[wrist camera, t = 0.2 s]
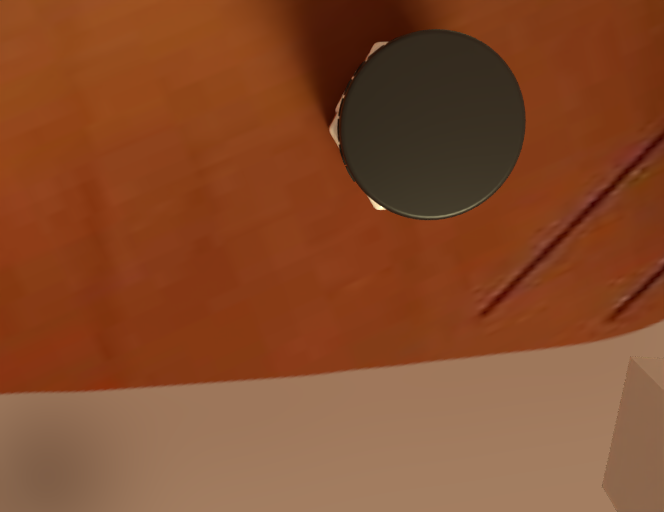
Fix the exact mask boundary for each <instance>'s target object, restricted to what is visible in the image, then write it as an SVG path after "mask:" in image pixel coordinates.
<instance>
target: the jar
mask: <svg viewBox="0 0 664 512" xmlns="http://www.w3.org/2000/svg"><path fill="white" fill-rule="evenodd" d="M335 111H336V113H335V115H334V117H333V119H332V121H331V123H330V124H329V127H328V128H329V132H330V134H331V136H332V137H333V139H334V141H335V142H336V144H337V146H338V147H339V149H340V153H341V156H342V159H343V162H344V164H345V165H347V166H345V167H346V169H347V171H348V173H349V175H350V176H351V178H352V180H353V181H354V182H355V181H356V183H357V184H358V186H359V187H360V188H361V189H362V190H363V192H364V193H365V194H366V195H367V196H368V198H369V200H370V201H371V203H372V205H373V206H374V208H375V209H377V210H388V211H390V212H393V213H395V214H397V215H400V216H403V217H407V218H412V219H419V220H439V219H446V218H450V217H454V216H457V215H460V214H463V213H465V212H467V211H470V210H472V209H473V208H475V207H477V206H479V205H480V204H482V203H483V202H484V201H486V200H487V199H488V198H489V197H491V196H492V195H493V194H494V193H495V192H496V191H497V190H498V189H499V188H500V187H501V186H502V184H503V183H504V182H505V181H506V179H507V178H508V176H509V175H510V173H511V172H512V170H513V168H514V166H515V164H516V162H517V160H518V157H519V155H520V152H521V149H522V145H523V140H524V134H525V121H526V120H525V107H524V101H523V97H522V93H521V90H520V87H519V85H518V82H517V80H516V78H515V76H514V74H513V73H512V71H511V70H510V68H509V67H508V65H507V64H506V63H505V61H504V60H503V59H502V58H501V57H500V56H499V55H498V54H497V53H496V52H495V51H494V50H493V49H491V48H490V47H489V46H487V45H486V44H484V43H483V42H481V41H479V40H477V39H476V38H474V37H471V36H469V35H466V34H463V33H460V32H456V31H450V30H440V29H432V30H423V31H417V32H413V33H409V34H406V35H403V36H400V37H397V38H395V39H393V40H391V41H389V42H377V43H375V44H374V45H373V47H372V48H371V50H370V52H369V53H368V55H367V56H366V58H365V60H364V61H363V63H362V64H361V65H360V66H359V68H358V69H357V70H356V71H355V73H354V75H353V77H352V78H351V80H350V81H349V83H348V85H347V87H346V89H345V91H344V93H343V95H342V97H341V99H340V101H339V103H338V105H337V107H336V108H335Z"/></svg>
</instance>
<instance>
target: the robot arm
mask: <svg viewBox="0 0 664 512" xmlns="http://www.w3.org/2000/svg"><path fill="white" fill-rule="evenodd" d="M602 487H603V489H604V490H605V492H606V494H607V495H608V497H609V499H610V500H611V502H612V504H613V506H614V507H615V509H616V511H617V512H664V358H650V357H630V361H629V365H628V370H627V374H626V379H625V383H624V388H623V392H622V397H621V401H620V406H619V411H618V416H617V420H616V424H615V429H614V433H613V438H612V443H611V447H610V452H609V457H608V461H607V465H606V470H605V474H604V480H603V484H602Z"/></svg>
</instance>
